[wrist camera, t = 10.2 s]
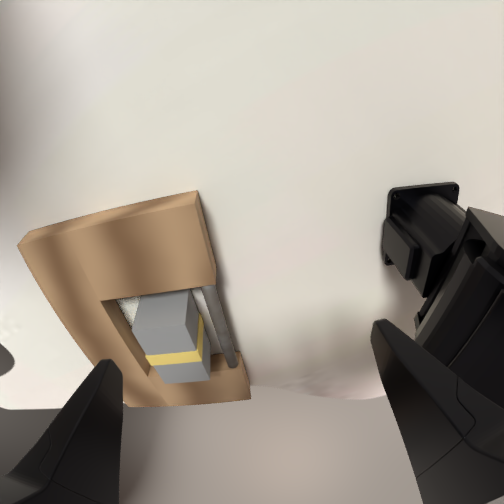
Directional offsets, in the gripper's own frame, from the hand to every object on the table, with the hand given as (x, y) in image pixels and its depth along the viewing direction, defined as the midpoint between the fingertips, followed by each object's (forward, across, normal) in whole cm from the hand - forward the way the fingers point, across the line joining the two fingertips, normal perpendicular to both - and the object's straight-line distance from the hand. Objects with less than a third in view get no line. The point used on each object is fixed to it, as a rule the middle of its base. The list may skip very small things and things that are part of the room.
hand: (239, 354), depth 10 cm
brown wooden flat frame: (+12, +9, +10) cm, 18 cm away
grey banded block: (+12, +6, +10) cm, 17 cm away
